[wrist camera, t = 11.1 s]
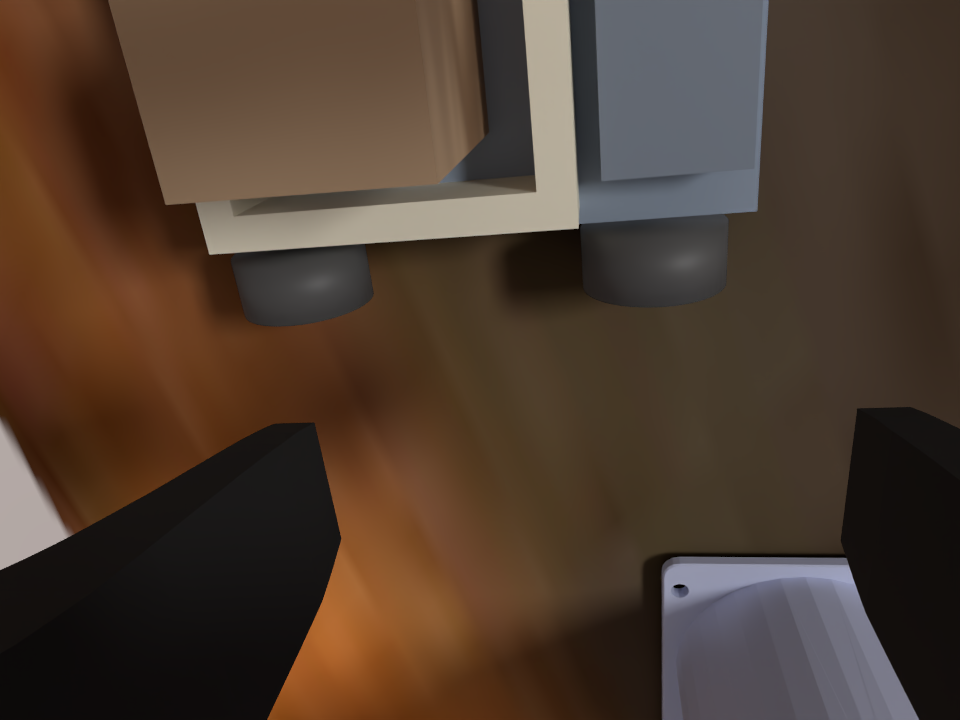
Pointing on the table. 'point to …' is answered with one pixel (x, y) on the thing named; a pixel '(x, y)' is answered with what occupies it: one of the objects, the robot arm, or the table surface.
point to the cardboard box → (303, 93)
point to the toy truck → (551, 161)
